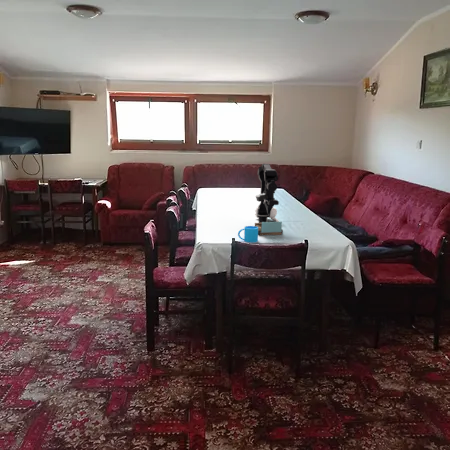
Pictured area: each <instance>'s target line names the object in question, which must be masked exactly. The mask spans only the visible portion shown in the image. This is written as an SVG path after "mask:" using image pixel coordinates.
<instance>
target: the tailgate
mask: <svg viewBox="0 0 450 450" xmlns="http://www.w3.org/2000/svg"><path fill="white" fill-rule="evenodd" d="M282 225H283V222H282V221H279V222H275V221H267V222H262V230H261V233H277V232H282V231H281V229H282V228H283V226H282Z"/></svg>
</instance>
